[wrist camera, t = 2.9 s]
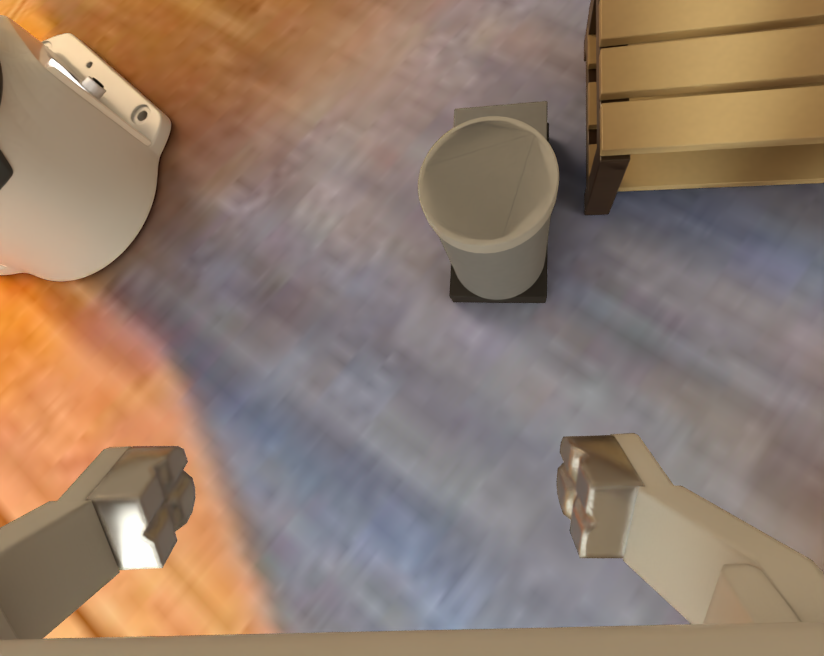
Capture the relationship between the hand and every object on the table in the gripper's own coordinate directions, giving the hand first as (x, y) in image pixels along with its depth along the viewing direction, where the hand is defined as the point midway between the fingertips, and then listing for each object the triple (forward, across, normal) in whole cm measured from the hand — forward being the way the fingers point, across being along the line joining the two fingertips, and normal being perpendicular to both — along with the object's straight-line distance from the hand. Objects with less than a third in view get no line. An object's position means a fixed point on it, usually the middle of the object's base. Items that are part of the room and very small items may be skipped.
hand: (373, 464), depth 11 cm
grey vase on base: (+22, -7, 0) cm, 23 cm away
